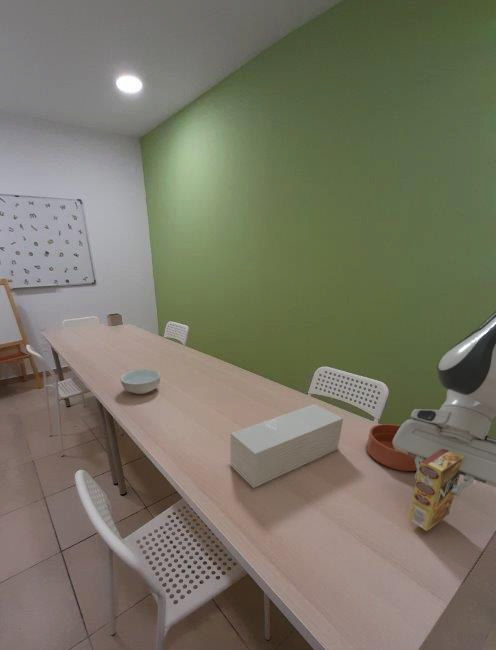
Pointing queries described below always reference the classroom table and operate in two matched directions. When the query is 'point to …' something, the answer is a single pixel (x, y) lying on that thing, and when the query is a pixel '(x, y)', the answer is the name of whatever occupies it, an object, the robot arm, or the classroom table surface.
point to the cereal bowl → (140, 381)
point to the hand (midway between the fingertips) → (435, 486)
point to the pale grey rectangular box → (284, 443)
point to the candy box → (435, 488)
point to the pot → (388, 448)
